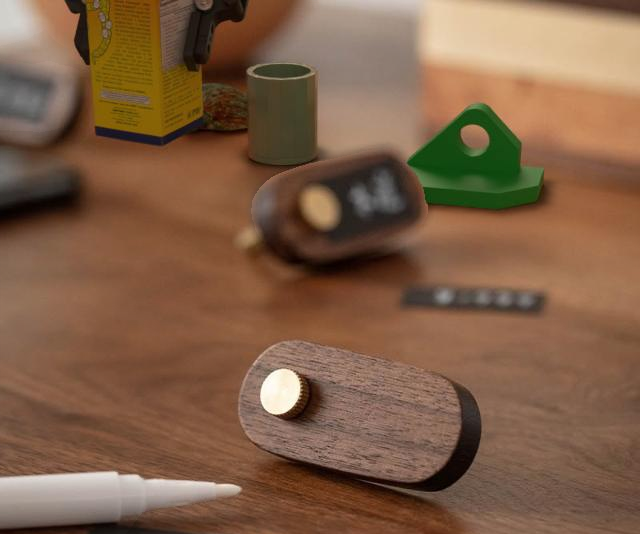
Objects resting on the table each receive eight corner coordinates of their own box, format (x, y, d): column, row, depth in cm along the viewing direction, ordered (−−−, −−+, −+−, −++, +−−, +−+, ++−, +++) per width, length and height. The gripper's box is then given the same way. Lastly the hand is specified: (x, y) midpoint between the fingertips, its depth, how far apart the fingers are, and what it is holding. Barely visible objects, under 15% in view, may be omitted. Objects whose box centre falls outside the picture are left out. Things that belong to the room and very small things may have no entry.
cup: (241, 163, 120) (239, 77, 117) (257, 142, 126) (255, 60, 123) (309, 167, 119) (309, 81, 116) (322, 146, 125) (323, 63, 121)
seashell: (283, 74, 132) (221, 97, 125) (286, 114, 134) (225, 139, 127) (207, 68, 138) (143, 89, 131) (211, 107, 140) (148, 129, 132)
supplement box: (137, 115, 99) (129, -32, 94) (205, 126, 97) (201, -24, 92) (91, 136, 94) (81, -18, 90) (162, 148, 92) (155, -9, 87)
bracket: (391, 199, 111) (393, 121, 108) (409, 171, 118) (411, 97, 115) (532, 212, 108) (538, 132, 106) (543, 183, 115) (549, 107, 112)
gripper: (73, -168, 95) (24, 28, 90) (265, -163, 93) (227, 39, 87) (102, -101, 102) (58, 84, 97) (282, -95, 100) (248, 96, 94)
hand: (139, 62), depth 92 cm, fingers closed on supplement box, 7 cm apart
